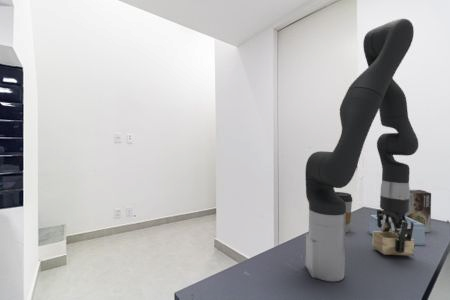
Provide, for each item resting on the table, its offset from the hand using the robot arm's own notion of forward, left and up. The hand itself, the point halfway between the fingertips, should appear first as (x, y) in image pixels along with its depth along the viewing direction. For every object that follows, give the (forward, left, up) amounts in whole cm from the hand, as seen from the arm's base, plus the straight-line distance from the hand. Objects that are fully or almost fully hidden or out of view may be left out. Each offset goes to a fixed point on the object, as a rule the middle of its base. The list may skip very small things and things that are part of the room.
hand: (392, 247), depth 76 cm
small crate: (0, 0, -1) cm, 1 cm away
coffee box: (+23, +23, -2) cm, 33 cm away
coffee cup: (-8, +20, -2) cm, 22 cm away
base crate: (+9, +13, -2) cm, 16 cm away
